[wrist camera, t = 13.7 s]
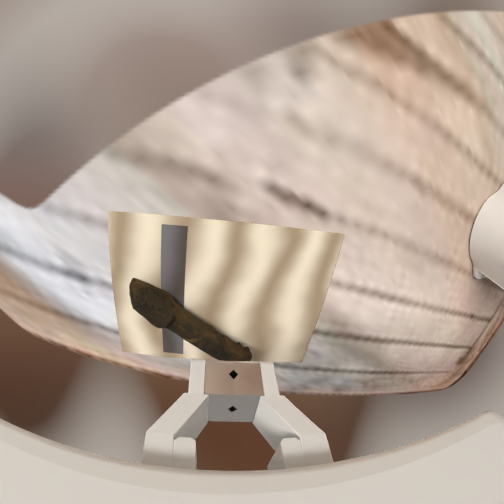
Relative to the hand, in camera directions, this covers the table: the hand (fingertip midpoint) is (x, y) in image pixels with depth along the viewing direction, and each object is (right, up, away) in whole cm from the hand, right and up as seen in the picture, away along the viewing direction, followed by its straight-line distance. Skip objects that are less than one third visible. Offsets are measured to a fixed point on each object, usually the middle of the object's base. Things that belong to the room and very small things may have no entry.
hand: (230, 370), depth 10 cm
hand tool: (-8, -5, +27) cm, 29 cm away
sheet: (-3, -2, +27) cm, 27 cm away
